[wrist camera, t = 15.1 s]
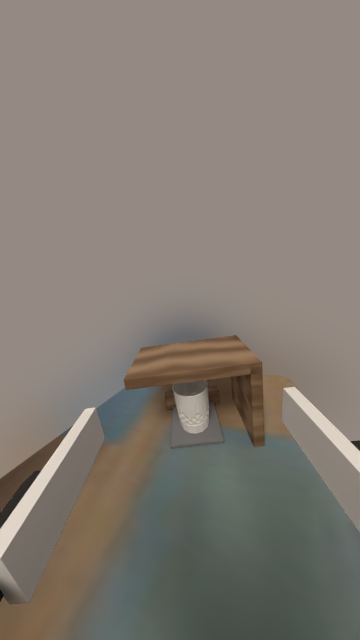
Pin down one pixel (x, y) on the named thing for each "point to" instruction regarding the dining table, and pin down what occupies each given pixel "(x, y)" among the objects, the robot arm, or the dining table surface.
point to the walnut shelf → (206, 374)
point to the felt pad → (203, 438)
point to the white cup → (192, 405)
